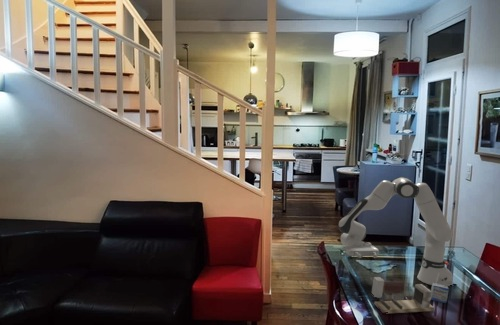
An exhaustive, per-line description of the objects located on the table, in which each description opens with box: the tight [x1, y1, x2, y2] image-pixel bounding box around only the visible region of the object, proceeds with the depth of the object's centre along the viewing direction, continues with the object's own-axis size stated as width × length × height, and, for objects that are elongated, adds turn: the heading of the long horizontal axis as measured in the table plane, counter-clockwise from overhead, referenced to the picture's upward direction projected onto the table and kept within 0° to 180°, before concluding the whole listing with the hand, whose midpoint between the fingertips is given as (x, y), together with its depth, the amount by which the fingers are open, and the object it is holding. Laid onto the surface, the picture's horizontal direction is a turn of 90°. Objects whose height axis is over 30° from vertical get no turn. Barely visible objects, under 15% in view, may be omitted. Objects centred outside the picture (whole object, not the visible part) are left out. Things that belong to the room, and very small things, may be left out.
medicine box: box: [430, 283, 450, 304], centre depth 203 cm, size 8×4×9 cm, turn 69°
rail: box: [373, 283, 435, 314], centre depth 191 cm, size 30×8×11 cm, turn 103°
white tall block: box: [371, 276, 385, 299], centre depth 202 cm, size 4×4×10 cm
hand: (368, 256), depth 212 cm, fingers open, 8 cm apart
